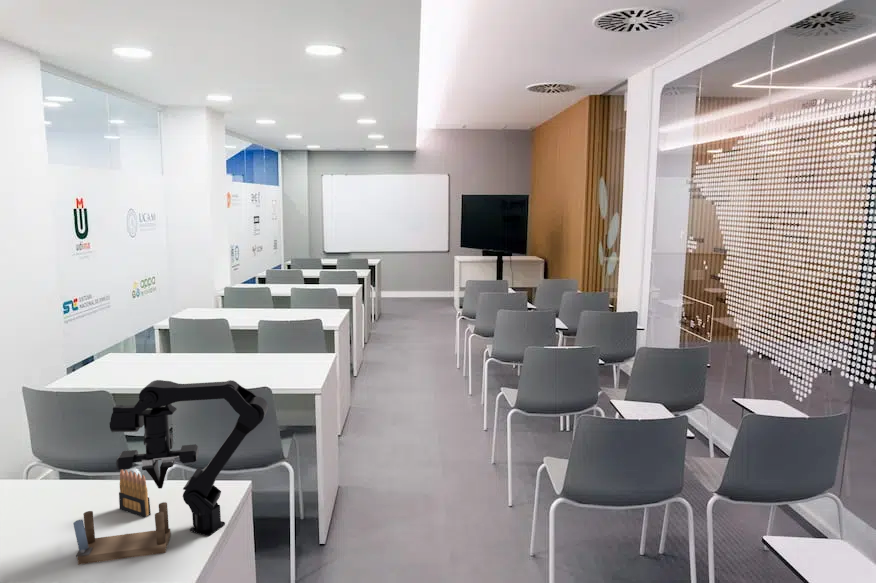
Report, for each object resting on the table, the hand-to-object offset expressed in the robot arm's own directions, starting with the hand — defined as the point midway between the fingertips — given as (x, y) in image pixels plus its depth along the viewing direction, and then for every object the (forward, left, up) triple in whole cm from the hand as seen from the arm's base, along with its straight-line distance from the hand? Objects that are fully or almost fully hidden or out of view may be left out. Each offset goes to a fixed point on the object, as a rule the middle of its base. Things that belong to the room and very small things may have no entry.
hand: (160, 487), depth 155 cm
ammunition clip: (+15, -5, -12) cm, 20 cm away
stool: (+2, +10, -12) cm, 16 cm away
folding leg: (+7, +17, -10) cm, 21 cm away
